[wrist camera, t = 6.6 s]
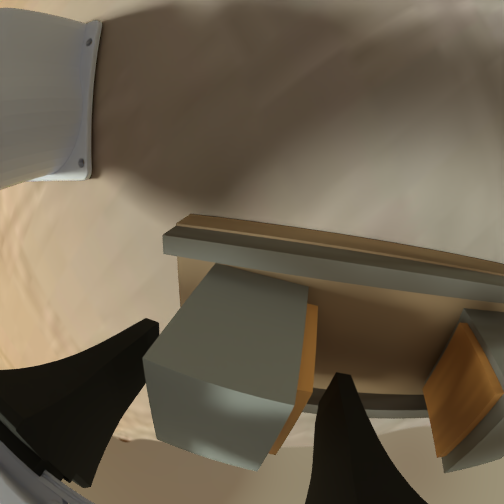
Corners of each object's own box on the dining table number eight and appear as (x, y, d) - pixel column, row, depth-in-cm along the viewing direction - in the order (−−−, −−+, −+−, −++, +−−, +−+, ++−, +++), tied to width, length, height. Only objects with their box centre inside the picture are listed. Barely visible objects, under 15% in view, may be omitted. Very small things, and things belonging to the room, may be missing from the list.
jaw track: (190, 214, 13) (78, 293, 6) (519, 267, 10) (593, 348, 3) (196, 355, 17) (142, 452, 10) (459, 385, 14) (484, 474, 7)
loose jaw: (215, 262, 12) (142, 357, 7) (320, 289, 11) (314, 409, 6) (206, 347, 14) (156, 439, 9) (290, 370, 13) (269, 473, 8)
